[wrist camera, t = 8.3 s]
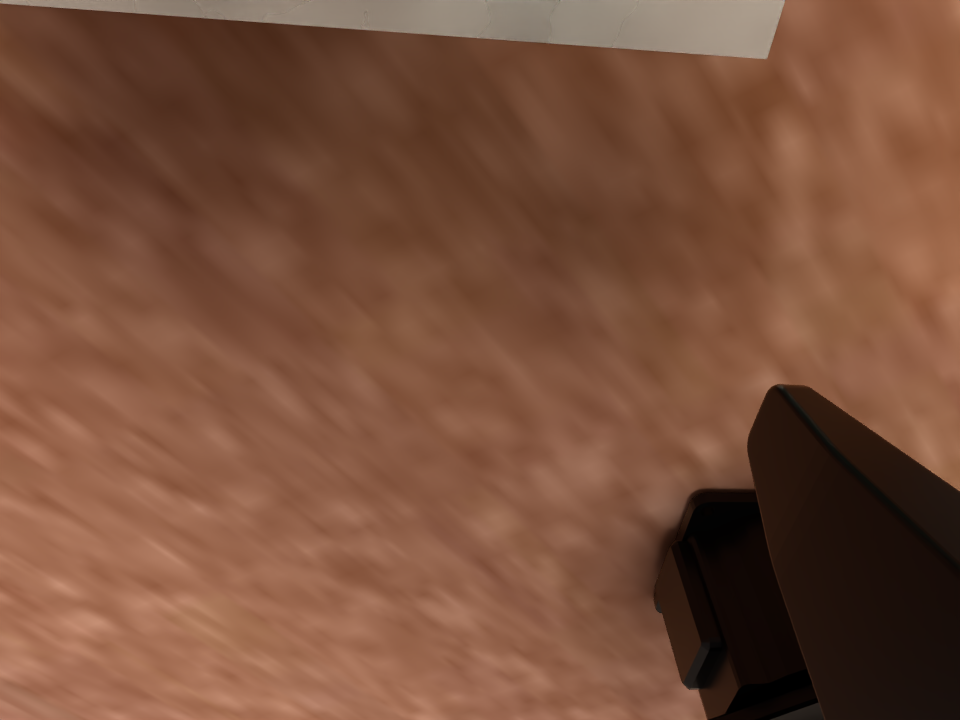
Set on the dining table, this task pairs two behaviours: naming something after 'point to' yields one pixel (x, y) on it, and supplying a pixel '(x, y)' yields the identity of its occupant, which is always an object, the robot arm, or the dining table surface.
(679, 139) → the dining table surface
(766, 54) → the chassis
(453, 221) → the dining table surface
